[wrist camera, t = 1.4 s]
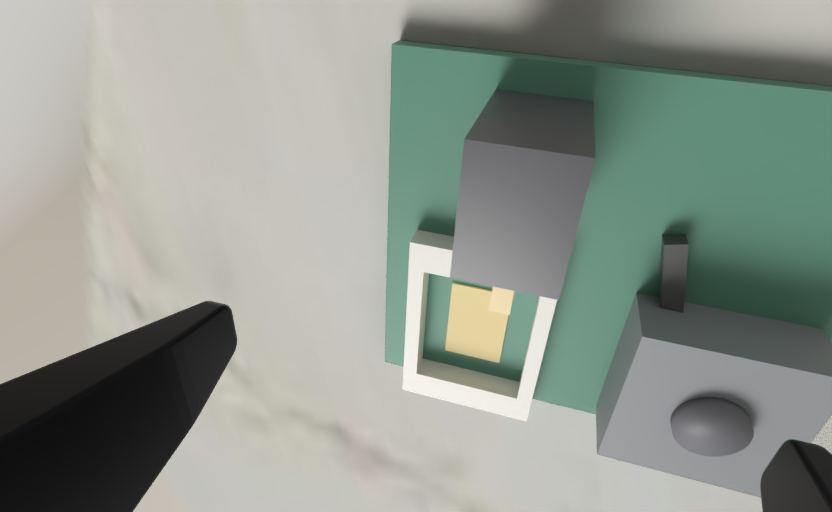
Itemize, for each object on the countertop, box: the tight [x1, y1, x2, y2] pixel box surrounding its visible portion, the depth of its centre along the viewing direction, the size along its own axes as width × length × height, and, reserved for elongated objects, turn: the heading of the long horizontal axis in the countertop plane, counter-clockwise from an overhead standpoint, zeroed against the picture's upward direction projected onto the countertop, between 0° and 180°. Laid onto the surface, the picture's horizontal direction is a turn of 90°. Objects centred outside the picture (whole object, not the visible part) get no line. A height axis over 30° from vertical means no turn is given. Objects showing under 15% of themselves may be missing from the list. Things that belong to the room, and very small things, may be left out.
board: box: [385, 40, 832, 497], centre depth 18 cm, size 16×14×4 cm
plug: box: [450, 89, 595, 315], centre depth 15 cm, size 3×5×5 cm, turn 177°
